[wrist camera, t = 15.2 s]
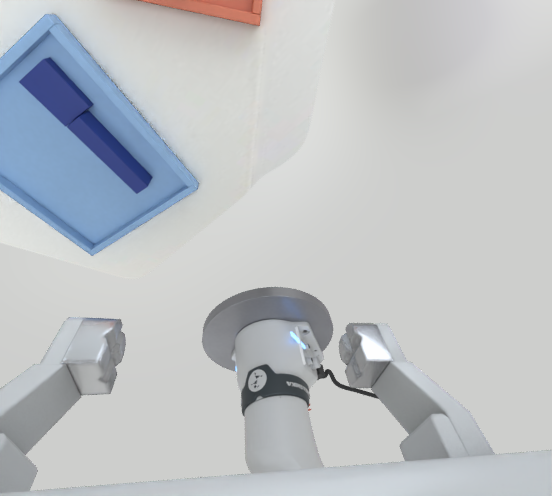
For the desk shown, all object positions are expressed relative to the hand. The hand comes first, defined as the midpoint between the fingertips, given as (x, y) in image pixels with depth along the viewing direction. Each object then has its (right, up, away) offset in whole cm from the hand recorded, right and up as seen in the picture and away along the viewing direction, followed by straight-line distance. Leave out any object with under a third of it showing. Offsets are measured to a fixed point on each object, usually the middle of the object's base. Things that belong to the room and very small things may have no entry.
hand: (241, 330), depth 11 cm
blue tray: (-22, +13, +23) cm, 34 cm away
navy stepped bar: (-18, +15, +22) cm, 32 cm away
